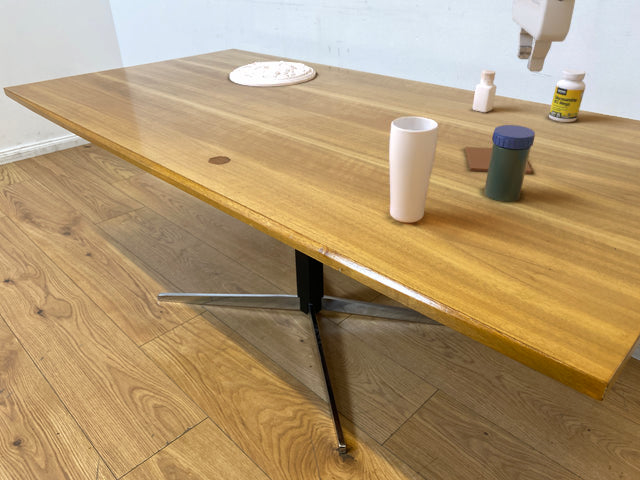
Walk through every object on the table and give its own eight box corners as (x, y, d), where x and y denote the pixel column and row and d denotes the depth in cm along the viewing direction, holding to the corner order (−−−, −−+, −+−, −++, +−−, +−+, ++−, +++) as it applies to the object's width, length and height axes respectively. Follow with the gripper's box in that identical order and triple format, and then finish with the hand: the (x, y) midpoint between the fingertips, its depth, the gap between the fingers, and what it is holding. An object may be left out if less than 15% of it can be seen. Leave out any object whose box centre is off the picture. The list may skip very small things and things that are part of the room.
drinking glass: (428, 228, 73) (439, 132, 65) (383, 225, 74) (389, 130, 66) (427, 207, 79) (438, 117, 71) (386, 204, 80) (391, 115, 72)
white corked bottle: (493, 109, 123) (500, 71, 118) (485, 113, 121) (492, 74, 116) (479, 106, 126) (485, 68, 121) (471, 110, 123) (477, 71, 118)
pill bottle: (545, 120, 116) (556, 72, 110) (551, 113, 120) (562, 67, 114) (573, 124, 113) (586, 75, 107) (578, 117, 117) (591, 70, 111)
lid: (528, 136, 80) (531, 125, 79) (536, 150, 75) (539, 138, 74) (489, 135, 81) (491, 124, 80) (494, 148, 76) (496, 136, 75)
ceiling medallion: (323, 67, 167) (323, 58, 166) (303, 88, 144) (302, 77, 143) (247, 64, 173) (246, 55, 171) (216, 84, 150) (214, 73, 148)
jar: (516, 187, 85) (529, 128, 79) (522, 202, 80) (536, 141, 74) (482, 185, 85) (492, 127, 80) (486, 200, 81) (497, 139, 75)
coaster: (520, 152, 99) (521, 149, 98) (531, 174, 89) (532, 171, 89) (465, 149, 100) (465, 146, 100) (470, 170, 91) (470, 167, 91)
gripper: (601, -43, 55) (569, 82, 62) (557, -47, 72) (536, 51, 79) (542, -43, 56) (518, 80, 63) (513, -47, 73) (496, 50, 80)
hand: (528, 64), depth 71 cm, fingers open, 7 cm apart
